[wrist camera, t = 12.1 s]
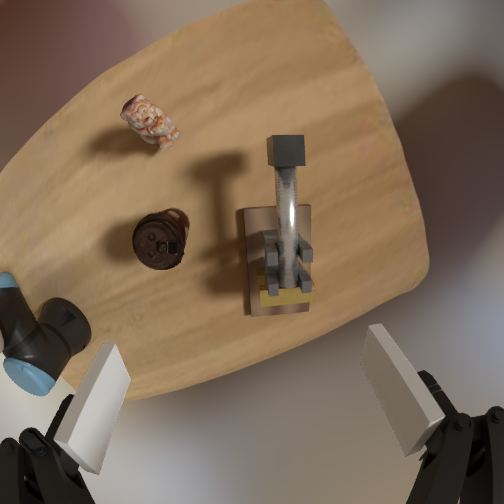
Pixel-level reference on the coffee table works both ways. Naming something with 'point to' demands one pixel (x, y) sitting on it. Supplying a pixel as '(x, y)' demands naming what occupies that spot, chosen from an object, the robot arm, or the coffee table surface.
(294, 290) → the block
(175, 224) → the coffee cup
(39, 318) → the robot arm
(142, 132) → the figurine
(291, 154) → the shaft
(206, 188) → the coffee table surface
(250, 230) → the bearing block
